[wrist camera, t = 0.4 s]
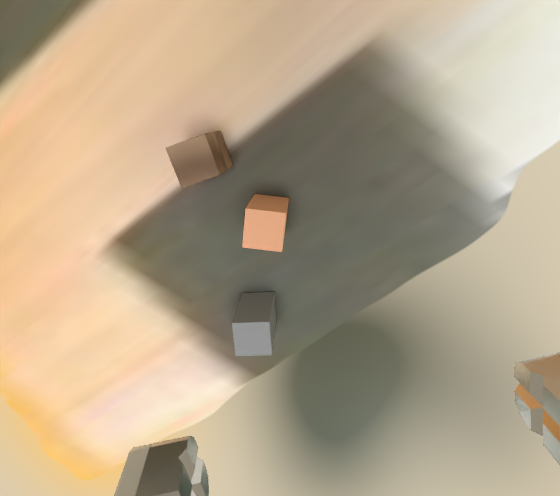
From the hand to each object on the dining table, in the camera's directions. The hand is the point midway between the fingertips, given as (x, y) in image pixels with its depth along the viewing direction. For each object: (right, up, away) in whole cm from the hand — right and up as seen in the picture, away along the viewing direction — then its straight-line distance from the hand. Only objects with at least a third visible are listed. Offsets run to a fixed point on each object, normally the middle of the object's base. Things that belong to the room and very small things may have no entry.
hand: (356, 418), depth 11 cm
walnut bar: (-11, +16, +43) cm, 47 cm away
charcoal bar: (-5, -4, +49) cm, 50 cm away
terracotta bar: (-3, +9, +45) cm, 46 cm away
